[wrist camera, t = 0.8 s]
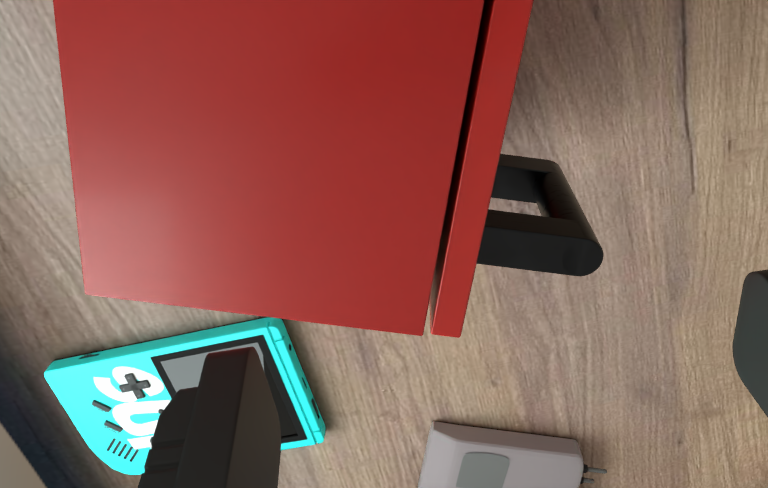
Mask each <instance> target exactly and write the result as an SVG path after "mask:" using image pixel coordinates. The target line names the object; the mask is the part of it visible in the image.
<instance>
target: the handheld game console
mask: <svg viewBox="0 0 768 488" xmlns="http://www.w3.org/2000/svg"><path fill="white" fill-rule="evenodd" d="M245 347H254V348H255V349H256V351H257V353H258V355H259V358H260V361H261V364H262V367H263V370H264V373H265V376H266V379H267V382H268V385H269V388H270V391H271V394H272V397H273V400H274V403H275V406H276V409H277V412H278V417H279V422H280V430H281V450H285V449H291V448H297V447H303V446H308V445H314V444H316V442H318V444H320V443H322V442H323V441H324V436H325V430H326V427H325V424H324V421H323V419H322V417H321V414H320V412H319V409H318V407H317V404H316V402H315V399H314V397H313V394H312V392H311V389H310V387H309V384H308V382H307V379H306V377H305V375H304V372H303V370H302V367H301V365H300V362H299V360H298V357H297V355H296V352H295V350H294V347H293V345H292V342H291V340H290V338H289V335H288V333H287V330H286V328H285V325H284V323H283V320H282V319H280V318H272V317H266V318H261V319H256V320H251V321H246V322H241V323H237V324H232V325H227V326H222V327H217V328H212V329H207V330H202V331H197V332H193V333H188V334H183V335H178V336H173V337H168V338H163V339H158V340H153V341H149V342H144V343H139V344H134V345H129V346H124V347H119V348H114V349H110V350H105V351H100V352H95V353H90V354H84V355H80V356H75V357H70V358H66V359H61V360H56V361H53V362H52V363H51V364H50V366H49V367H48V368H47V370H46V371H45V372H44V377H45V379H46V380H47V382H48V384H49V385H50V387H51V388H52V390H53V391H54V393H55V395H56V396H57V398H58V399H59V401H60V402H61V404H62V406H63V407H64V409H65V410H66V412H67V413H68V415H69V417H70V418H71V420H72V421H73V423H74V425H75V426H76V428H77V429H78V431H79V432H80V434H81V436H82V437H83V439H84V440H85V442H86V443H87V444H88V446H89V447H90V449H91V450H92V451H93V452H94V453H95V454H96V455H97V456H98V457H99V458H100V459H101V460H102V461H103V462H105V463H106V464H107V465H109V466H110V467H111V468H112V469H114V470H117V471H119V472H122V473H125V474H129V475H139V474H142V473H144V472H145V469H144V465H145V462H146V459H147V455H148V452H149V449H151V448H152V446H151V442H152V439H153V435H154V432H155V428H156V425H157V422H158V418H159V415H160V414H161V413H162V411H163V410H164V409H165V407H166V406H167V405H168V404H169V402H170V401H171V400H172V398H173V397H174V396H175V394H176V393H177V392H178V390H179V389H186V388H192V387H198V385H199V381H200V377H201V372H202V368H203V364H204V360H205V358H206V356H207V354H208V353H213V352H219V351H226V350H232V349H239V348H245Z"/></svg>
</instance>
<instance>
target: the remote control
mask: <svg viewBox="0 0 768 488" xmlns="http://www.w3.org/2000/svg"><path fill="white" fill-rule="evenodd" d="M398 450H399V449H398ZM588 471H589V472H597V473H607V470H606V469H599V468H591V467H588V466H587V465H584V464H583V457H582V454H581V451H580V447H579V444H578V443H577V441H575V440H573V439H565V438H558V437H550V436H542V435H534V434H526V433H518V432H510V431H502V430H494V429H486V428H478V427H470V426H462V425H455V424H448V423H442V422H436V421H433V422H432V424H431V427H430V432H429V436H428V441H427V445H426V450H425V455H424V459H423V464H422V469H421V473H420V478H419V483H418V488H579V485H580V484H582V483H583V482H586V483H594V480H593V479H588V478H583V477H582V474H583V473H586V472H588Z"/></svg>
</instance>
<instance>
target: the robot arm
mask: <svg viewBox="0 0 768 488" xmlns="http://www.w3.org/2000/svg"><path fill="white" fill-rule="evenodd" d="M733 358H734V362H735V366H736V369H737V372H738V374H739V376H740V378H741V380H742V382H743V383H744V385H745V386H746V387H747V389H748V390H749V392H750V393H751V395H752V396H753V397H754V399H755V400H756V402H757V403H758V404H759V406H760V407H761V409H762V410H763V411H764V413H765V414H766V416H767V417H768V270H762V271H755V272H751V273H749V274H748V275H747V276H746V278H745V280H744V284H743V289H742V295H741V300H740V306H739V311H738V317H737V322H736V328H735V333H734V339H733ZM151 446H152V448H151V449H149V452H148V455H147V459H146V462H145V465H144V469H145V472H144V473H142V475H141V479H140V482H139V485H138V488H277V486H278V475H279V464H280V453H281V430H280V422H279V417H278V412H277V409H276V406H275V403H274V400H273V397H272V394H271V391H270V388H269V385H268V382H267V379H266V376H265V373H264V370H263V367H262V364H261V361H260V358H259V355H258V353H257V351H256V349H255V348H254V347H245V348H239V349H232V350H226V351H219V352H213V353H208V354H207V356H206V358H205V360H204V364H203V368H202V372H201V377H200V381H199V385H198V387H192V388H186V389H179V390H178V392H177V393H176V394H175V396H174V397H173V398H172V400H171V401H170V402H169V404H168V405H167V406H166V407H165V409H164V410H163V411H162V413H161V414H160V415H159V418H158V422H157V425H156V428H155V432H154V435H153V439H152V442H151Z"/></svg>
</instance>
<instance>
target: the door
mask: <svg viewBox="0 0 768 488" xmlns="http://www.w3.org/2000/svg"><path fill="white" fill-rule="evenodd" d="M533 1H534V0H484V5H483V11H482V16H481V22H480V27H479V33H478V38H477V44H476V49H475V54H474V60H473V65H472V71H471V76H470V82H469V87H468V93H467V98H466V103H465V109H464V114H463V120H462V125H461V131H460V136H459V142H458V147H457V152H456V158H455V163H454V169H453V174H452V180H451V185H450V190H449V196H448V201H447V207H446V212H445V218H444V223H443V229H442V234H441V239H440V245H439V250H438V256H437V261H436V267H435V272H434V278H433V283H432V288H431V294H430V299H429V302H430V329H431V334H434V335H442V336H450V337H458V338H459V337H460V336H461V332H462V328H463V323H464V318H465V314H466V309H467V305H468V300H469V295H470V291H471V286H472V282H473V277H474V272H475V268H476V263H477V264H485V265H493V266H501V267H509V268H517V269H525V270H533V271H541V272H549V273H557V274H565V275H573V276H585V275H588V274H591V273H592V272H594V271H595V270H597V269H598V267H599V266H600V265H601V263H602V260H603V250H602V248H601V246H600V244H599V242H598V240H597V238H596V236H595V234H594V232H593V230H592V228H591V226H590V224H589V222H588V220H587V219H586V217H585V215H584V213H583V211H582V209H581V207H580V205H579V203H578V201H577V199H576V197H575V195H574V193H573V191H572V189H571V187H570V185H569V184H568V182H567V180H566V178H565V176H564V174H563V172H562V170H561V168H560V166H559V165H558V164H557V163H555V162H553V161H550V160H544V159H536V158H528V157H521V156H513V155H505V154H500V153H501V148H502V143H503V139H504V134H505V130H506V125H507V120H508V116H509V111H510V107H511V102H512V97H513V93H514V88H515V83H516V79H517V74H518V70H519V65H520V60H521V56H522V51H523V47H524V42H525V37H526V33H527V28H528V24H529V19H530V14H531V10H532V5H533ZM491 197H492V198H500V199H508V200H516V201H524V202H532V203H537V205H538V208H539V210H540V213H541V216H535V215H527V214H519V213H512V212H504V211H496V210H488V208H489V203H490V199H491Z"/></svg>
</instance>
